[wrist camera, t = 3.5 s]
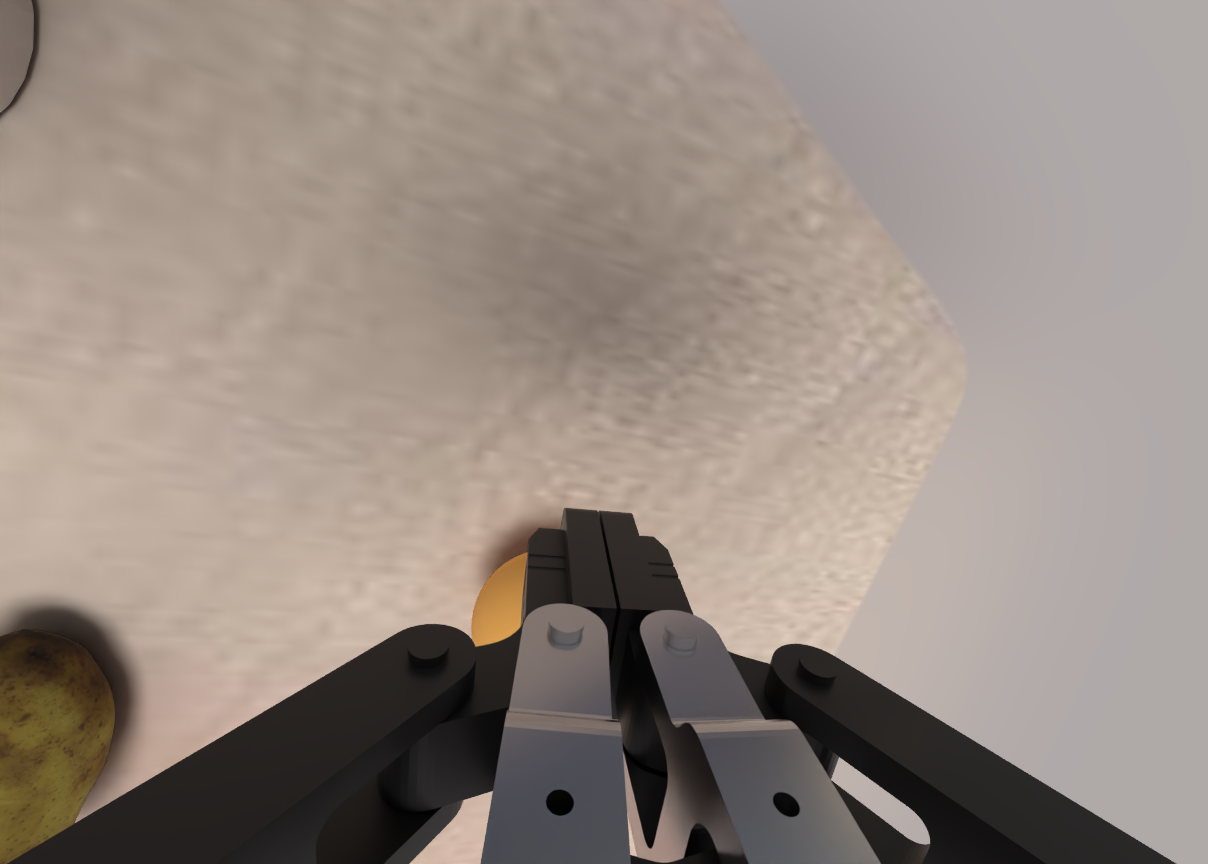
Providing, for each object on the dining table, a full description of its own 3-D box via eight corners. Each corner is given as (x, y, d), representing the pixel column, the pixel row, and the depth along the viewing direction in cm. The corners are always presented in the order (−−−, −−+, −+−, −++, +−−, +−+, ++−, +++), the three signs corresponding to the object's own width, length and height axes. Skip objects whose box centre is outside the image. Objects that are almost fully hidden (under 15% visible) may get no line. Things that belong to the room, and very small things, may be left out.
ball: (482, 519, 25) (467, 605, 20) (616, 527, 26) (637, 611, 20) (475, 631, 27) (459, 737, 22) (599, 635, 28) (615, 738, 22)
